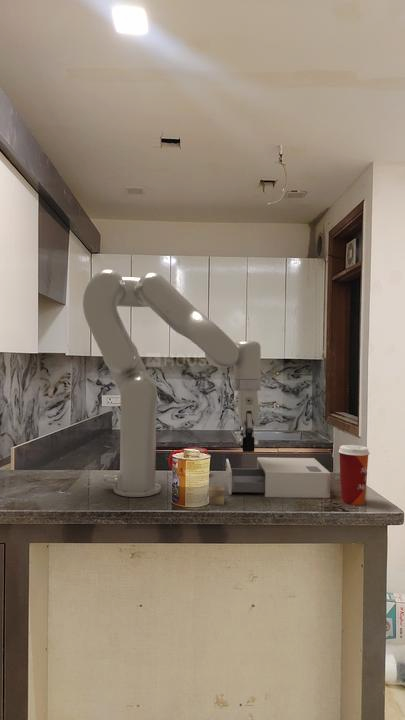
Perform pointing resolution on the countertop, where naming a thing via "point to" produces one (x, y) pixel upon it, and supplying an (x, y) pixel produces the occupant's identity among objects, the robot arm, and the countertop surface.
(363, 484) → the paper cup
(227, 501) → the countertop surface
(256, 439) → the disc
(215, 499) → the brown wooden cube
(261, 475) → the drawer
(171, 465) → the mug
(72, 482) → the countertop surface
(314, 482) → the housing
